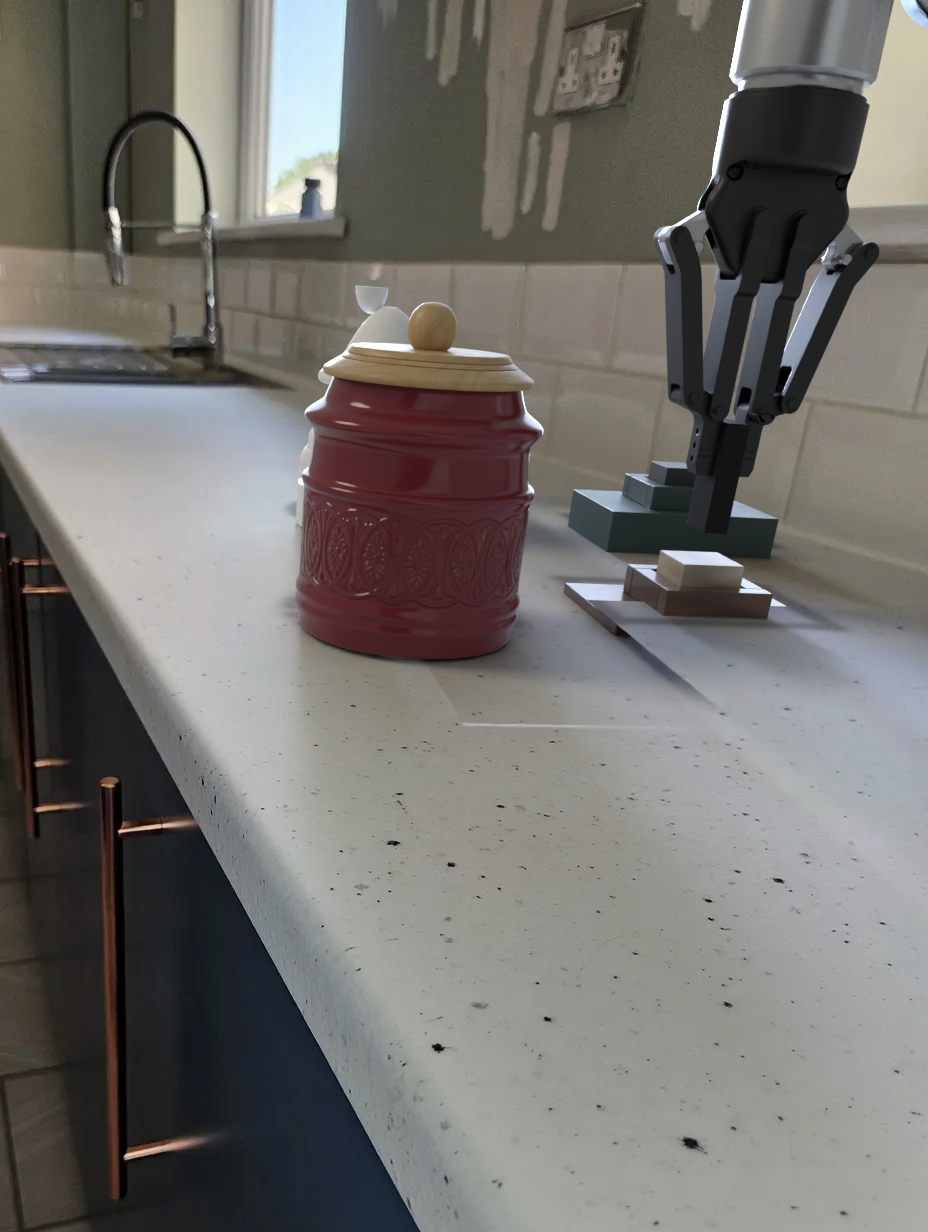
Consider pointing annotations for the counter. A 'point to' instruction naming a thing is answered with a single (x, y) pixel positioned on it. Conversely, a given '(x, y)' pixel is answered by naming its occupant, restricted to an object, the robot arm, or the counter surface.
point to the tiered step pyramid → (664, 521)
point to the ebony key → (671, 473)
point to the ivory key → (699, 569)
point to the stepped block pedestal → (672, 597)
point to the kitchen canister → (416, 497)
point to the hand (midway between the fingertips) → (706, 528)
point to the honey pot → (375, 329)
